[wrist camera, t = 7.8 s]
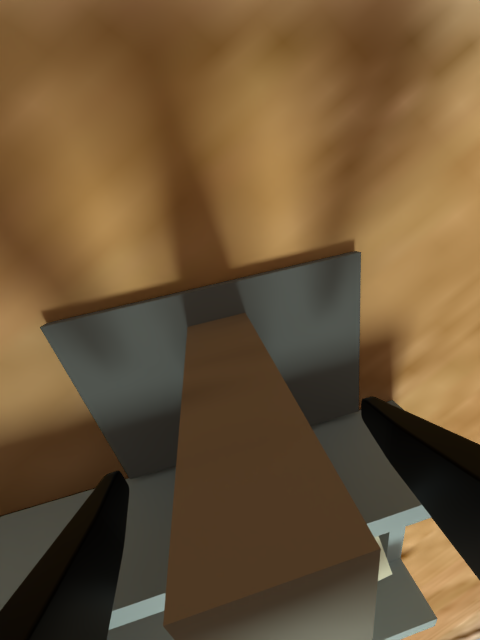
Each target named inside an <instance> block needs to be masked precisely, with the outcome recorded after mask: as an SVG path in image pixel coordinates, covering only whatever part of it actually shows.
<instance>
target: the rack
mask: <svg viewBox="0 0 480 640" xmlns="http://www.w3.org/2000/svg"><path fill="white" fill-rule="evenodd" d="M387 403H389V404H391V405H393V406H396V407H398V408H400V409H402V408H401V407H400V406H399V405H397V404H396V403H395V402H394V401H393V400H392V401H388V402H387ZM402 410H403V409H402ZM311 428H312V430H313V431H314V433H315V435H316V437H317V438H318V440H319V442H320V444H321V445H322V447H323V449H324V451H325V452H326V454H327V456H328V458H329V459H330V461H331V463H332V464H333V466H334V468H335V470H336V471H337V473H338V475H339V477H340V478H341V480H342V482H343V484H344V485H345V487H346V489H347V491H348V492H349V494H350V496H351V498H352V499H353V501H354V503H355V505H356V506H357V508H358V510H359V512H360V513H361V515H362V517H363V519H364V520H365V522H366V524H367V525H368V527H369V529H370V531H371V532H372V534H373V536H374V537H377V536H379V538H380V541H381V544H382V547H383V549H384V552H385V555H386V558H387V560H388V563H389V566H390V569H391V571H392V575H390V576H388V577H386V578H384V579H382V580H380V581H378V585H377V596H376V607H375V618H374V629H373V640H400V639H403V638H405V637H408V636H410V635H413V634H415V633H418V632H420V631H423V630H426V629H428V628H431V627H433V626H435V624H436V621H437V617H436V616H435V614H434V612H433V611H432V609H431V607H430V606H429V604H428V603H427V601H426V599H425V598H424V596H423V594H422V593H421V591H420V590H419V588H418V586H417V585H416V583H415V581H414V580H413V578H412V577H411V575H410V573H409V572H408V570H407V568H406V567H405V565H404V564H403V562H402V560H401V559H400V557H401V551H402V545H403V539H404V533H405V526H408V525H411V524H414V523H417V522H420V521H422V520H425V519H428V518H431V516H430V515H429V513H428V512H427V511H426V509H425V508H424V507H423V506H422V504H421V503H420V502H419V500H418V499H417V498H416V496H415V495H414V494H413V493H412V491H411V490H410V489H409V487H408V486H407V485H406V483H405V482H404V481H403V479H402V478H401V477H400V476H399V474H398V473H397V472H396V470H395V469H394V468H393V466H392V465H391V464H390V462H389V461H388V459H387V458H386V456H385V455H384V453H383V452H382V450H381V448H380V447H379V445H378V444H377V442H376V441H375V439H374V437H373V436H372V434H371V433H370V431H369V429H368V428H367V426H366V425H365V423H364V421H363V419H362V416H361V410H359V411H358V412H355V413H352V414H348V415H345V416H341V417H338V418H335V419H331V420H328V421H325V422H321V423H318V424H315V425H311ZM175 473H176V466H173V467H170V468H167V469H163V470H160V471H156V472H153V473H150V474H146V475H143V476H140V477H136V478H133V479H130V478H129V479H125V480H126V482H127V483H128V485H129V491H130V492H129V503H128V513H127V523H126V534H125V543H124V550H123V556H122V561H121V566H120V572H119V577H118V582H117V588H116V593H115V598H114V604H113V609H112V614H111V620H110V625H109V630H108V636H107V640H174V639H173V637H172V636H171V635H170V634H169V633H168V631H167V630H166V629H165V628H164V627H163V620H164V608H165V596H166V583H167V571H168V559H169V547H170V534H171V522H172V510H173V498H174V486H175ZM93 491H94V489H92V490H88V491H85V492H82V493H78V494H75V495H72V496H68V497H65V498H61V499H58V500H55V501H51V502H48V503H45V504H41V505H38V506H34V507H31V508H28V509H24V510H21V511H18V512H14V513H11V514H8V515H4V516H1V517H0V610H1V609H2V608H3V606H4V605H5V604H6V603H7V601H8V600H9V599H10V597H11V596H12V595H13V594H14V592H15V591H16V590H17V588H18V587H19V586H20V584H21V583H22V582H23V581H24V579H25V578H26V577H27V575H28V574H29V573H30V572H31V570H32V569H33V568H34V566H35V565H36V564H37V563H38V561H39V560H40V559H41V557H42V556H43V555H44V554H45V552H46V551H47V550H48V548H49V547H50V546H51V545H52V543H53V542H54V541H55V539H56V538H57V537H58V536H59V534H60V533H61V532H62V530H63V529H64V528H65V527H66V525H67V524H68V523H69V521H70V520H71V519H72V518H73V516H74V515H75V514H76V512H77V511H78V510H79V509H80V507H81V506H82V505H83V503H84V502H85V501H86V500H87V498H88V497H89V496H90V494H91V493H92V492H93Z"/></svg>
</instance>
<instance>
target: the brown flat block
mask: <svg viewBox="0 0 480 640" xmlns="http://www.w3.org/2000/svg"><path fill="white" fill-rule="evenodd" d="M380 552H381V548H380V546H379V545H378V543H377V541H376V539H375V538H374V536H373V534H372V532H371V531H370V529H369V527H368V525H367V524H366V522H365V520H364V519H363V517H362V515H361V513H360V512H359V510H358V508H357V506H356V505H355V503H354V501H353V499H352V498H351V496H350V494H349V492H348V491H347V489H346V487H345V485H344V484H343V482H342V480H341V478H340V477H339V475H338V473H337V471H336V470H335V468H334V466H333V464H332V463H331V461H330V459H329V458H328V456H327V454H326V452H325V451H324V449H323V447H322V445H321V444H320V442H319V440H318V438H317V437H316V435H315V433H314V431H313V430H312V428H311V426H310V424H309V423H308V421H307V419H306V417H305V416H304V414H303V412H302V410H301V409H300V407H299V405H298V403H297V402H296V400H295V398H294V397H293V395H292V393H291V391H290V390H289V388H288V386H287V384H286V383H285V381H284V379H283V377H282V376H281V374H280V372H279V370H278V369H277V367H276V365H275V363H274V362H273V360H272V358H271V356H270V355H269V353H268V351H267V349H266V348H265V346H264V344H263V342H262V341H261V339H260V337H259V335H258V334H257V332H256V330H255V329H254V327H253V325H252V323H251V322H250V320H249V318H248V316H247V315H246V313H242V314H238V315H234V316H230V317H226V318H222V319H218V320H214V321H210V322H206V323H201V324H197V325H193V326H189V327H187V339H186V351H185V363H184V376H183V388H182V400H181V412H180V425H179V437H178V449H177V461H176V473H175V486H174V498H173V510H172V522H171V534H170V547H169V559H168V571H167V583H166V596H165V608H164V620H163V627H164V628H165V629H166V630H167V631H168V633H169V634H170V635H171V636H172V637H173V639H174V640H373V629H374V618H375V607H376V596H377V585H378V574H379V563H380Z"/></svg>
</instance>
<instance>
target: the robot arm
mask: <svg viewBox="0 0 480 640" xmlns="http://www.w3.org/2000/svg"><path fill="white" fill-rule="evenodd" d="M361 416H362V419H363V421H364V423H365V425H366V426H367V428H368V429H369V431H370V433H371V434H372V436H373V437H374V439H375V441H376V442H377V444H378V445H379V447H380V448H381V450H382V452H383V453H384V455H385V456H386V458H387V459H388V461H389V462H390V464H391V465H392V466H393V468H394V469H395V470H396V472H397V473H398V474H399V476H400V477H401V478H402V479H403V481H404V482H405V483H406V485H407V486H408V487H409V489H410V490H411V491H412V493H413V494H414V495H415V496H416V498H417V499H418V500H419V502H420V503H421V504H422V506H423V507H424V508H425V509H426V511H427V512H428V513H429V515H430V516H431V517H432V519H433V520H434V521H435V523H436V524H437V525H438V526H439V528H440V529H441V530H442V532H443V533H444V534H445V536H446V537H447V538H448V539H449V541H450V542H451V543H452V545H453V546H454V547H455V549H456V550H457V551H458V553H459V554H460V555H461V556H462V558H463V559H464V560H465V562H466V563H467V564H468V566H469V567H470V568H471V570H472V571H473V572H474V573H475V575H476V576H477V577H478V579H479V580H480V445H479V444H477V443H475V442H473V441H471V440H468V439H466V438H464V437H462V436H460V435H457V434H455V433H453V432H451V431H449V430H446V429H444V428H442V427H440V426H438V425H435V424H433V423H431V422H429V421H427V420H424V419H422V418H420V417H418V416H415V415H413V414H411V413H409V412H407V411H404V410H402V409H400V408H398V407H396V406H393V405H391V404H389V403H387V402H385V401H382V400H380V399H378V398H376V397H368V398H364V399H362V402H361ZM129 492H130V491H129V485H128V483H127V482H126V480H125V478H124V477H123V475H122V473H121V472H120V471H116V472H112V473H109V474H107V475H106V476H105V477H104V478H103V479H102V480H101V482H100V483H99V484H98V485H97V487H96V488H95V489H94V491H93V492H92V493H91V494H90V496H89V497H88V498H87V500H86V501H85V502H84V503H83V505H82V506H81V507H80V509H79V510H78V511H77V512H76V514H75V515H74V516H73V518H72V519H71V520H70V521H69V523H68V524H67V525H66V527H65V528H64V529H63V530H62V532H61V533H60V534H59V536H58V537H57V538H56V539H55V541H54V542H53V543H52V545H51V546H50V547H49V548H48V550H47V551H46V552H45V554H44V555H43V556H42V557H41V559H40V560H39V561H38V563H37V564H36V565H35V566H34V568H33V569H32V570H31V572H30V573H29V574H28V575H27V577H26V578H25V579H24V581H23V582H22V583H21V584H20V586H19V587H18V588H17V590H16V591H15V592H14V594H13V595H12V596H11V597H10V599H9V600H8V601H7V603H6V604H5V605H4V606H3V608H2V609H1V610H0V640H107V636H108V630H109V625H110V620H111V614H112V609H113V604H114V598H115V593H116V588H117V582H118V577H119V572H120V566H121V561H122V556H123V550H124V543H125V534H126V523H127V513H128V503H129Z"/></svg>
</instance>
